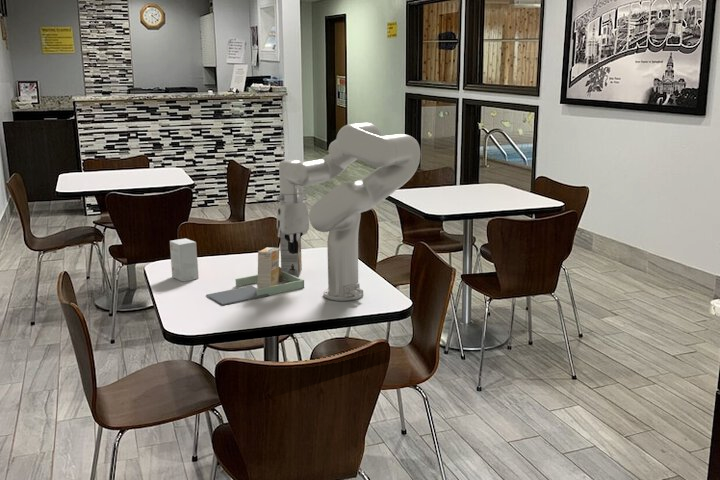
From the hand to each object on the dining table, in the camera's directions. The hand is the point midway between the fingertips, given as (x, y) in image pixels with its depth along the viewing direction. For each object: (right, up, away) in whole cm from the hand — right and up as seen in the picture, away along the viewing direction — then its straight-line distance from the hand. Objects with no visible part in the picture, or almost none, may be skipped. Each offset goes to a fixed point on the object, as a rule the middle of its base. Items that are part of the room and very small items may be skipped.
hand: (293, 252), depth 236 cm
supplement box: (-8, -12, -3) cm, 15 cm away
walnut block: (-7, -10, +6) cm, 13 cm away
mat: (-17, -13, -10) cm, 24 cm away
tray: (-8, -11, 0) cm, 14 cm away
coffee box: (-2, -8, +15) cm, 17 cm away
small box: (-38, -9, +11) cm, 41 cm away
